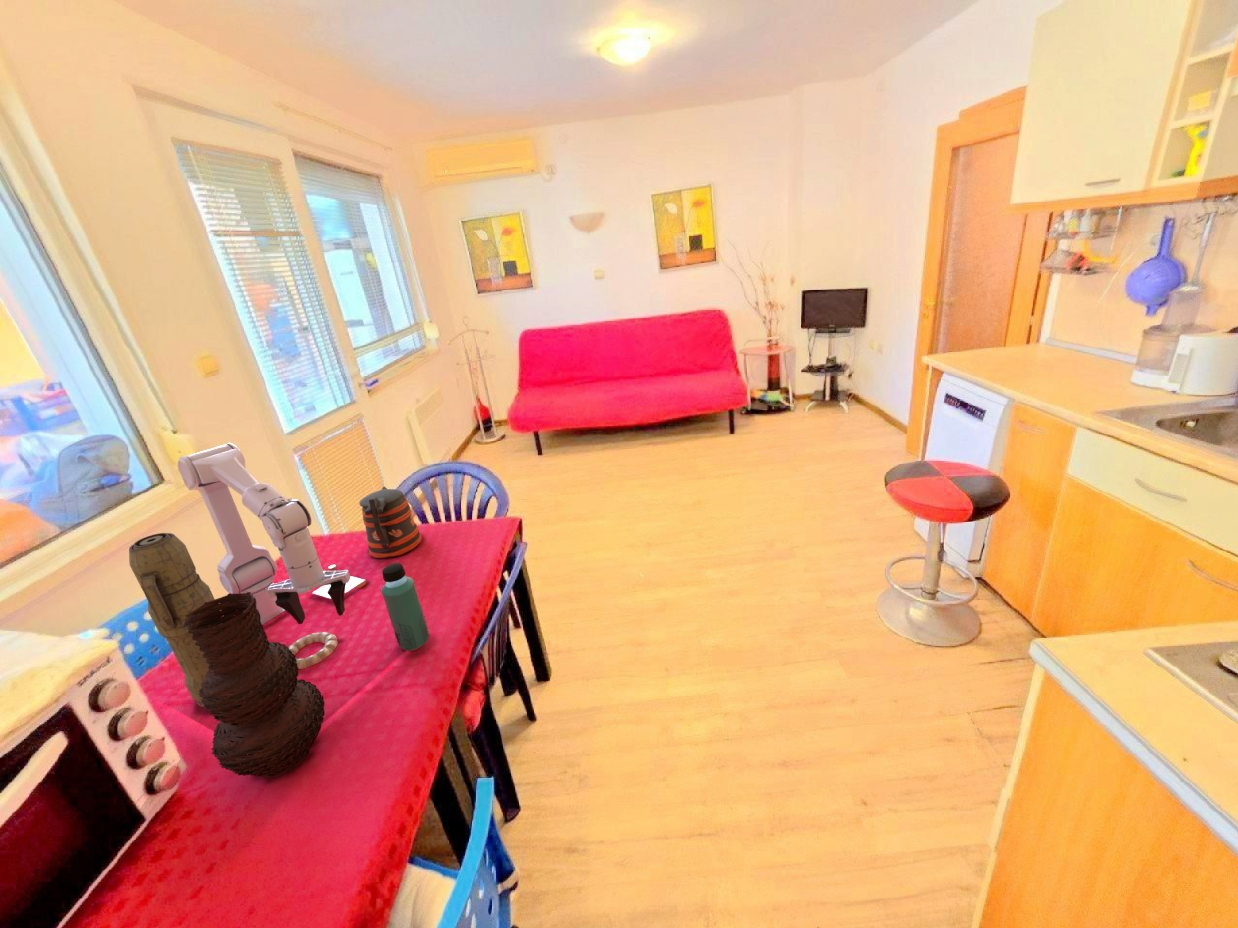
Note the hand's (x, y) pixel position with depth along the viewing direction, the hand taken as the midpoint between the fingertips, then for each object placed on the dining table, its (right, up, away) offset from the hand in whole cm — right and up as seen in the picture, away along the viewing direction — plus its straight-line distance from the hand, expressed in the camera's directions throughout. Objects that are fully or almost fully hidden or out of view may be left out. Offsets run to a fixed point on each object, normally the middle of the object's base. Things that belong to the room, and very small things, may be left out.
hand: (322, 616), depth 105 cm
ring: (-4, -8, +3) cm, 9 cm away
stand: (-10, -1, +26) cm, 28 cm away
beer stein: (-4, +6, +43) cm, 44 cm away
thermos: (-16, -14, -5) cm, 22 cm away
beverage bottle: (+18, -7, +3) cm, 20 cm away
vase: (+6, -18, -20) cm, 27 cm away
